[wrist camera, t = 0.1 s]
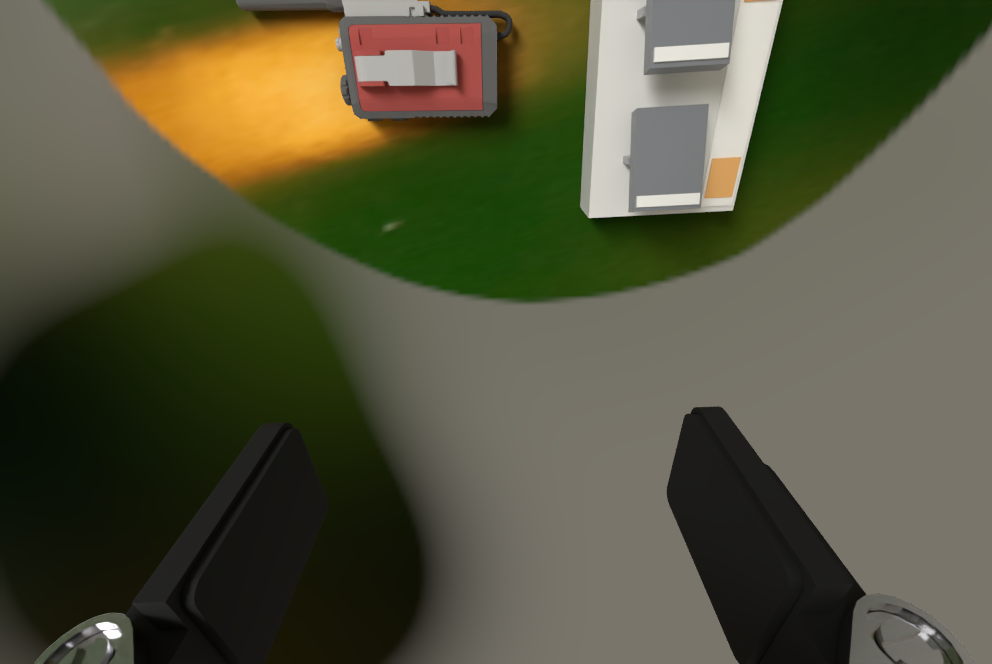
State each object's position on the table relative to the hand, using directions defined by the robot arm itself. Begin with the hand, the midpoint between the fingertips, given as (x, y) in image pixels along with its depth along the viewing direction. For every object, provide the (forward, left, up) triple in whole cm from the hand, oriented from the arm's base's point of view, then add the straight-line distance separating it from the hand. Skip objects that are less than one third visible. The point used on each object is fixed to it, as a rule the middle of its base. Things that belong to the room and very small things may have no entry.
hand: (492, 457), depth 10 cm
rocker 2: (-3, +13, -25) cm, 28 cm away
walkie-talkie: (-11, -8, -32) cm, 35 cm away
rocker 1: (-12, +13, -25) cm, 31 cm away
